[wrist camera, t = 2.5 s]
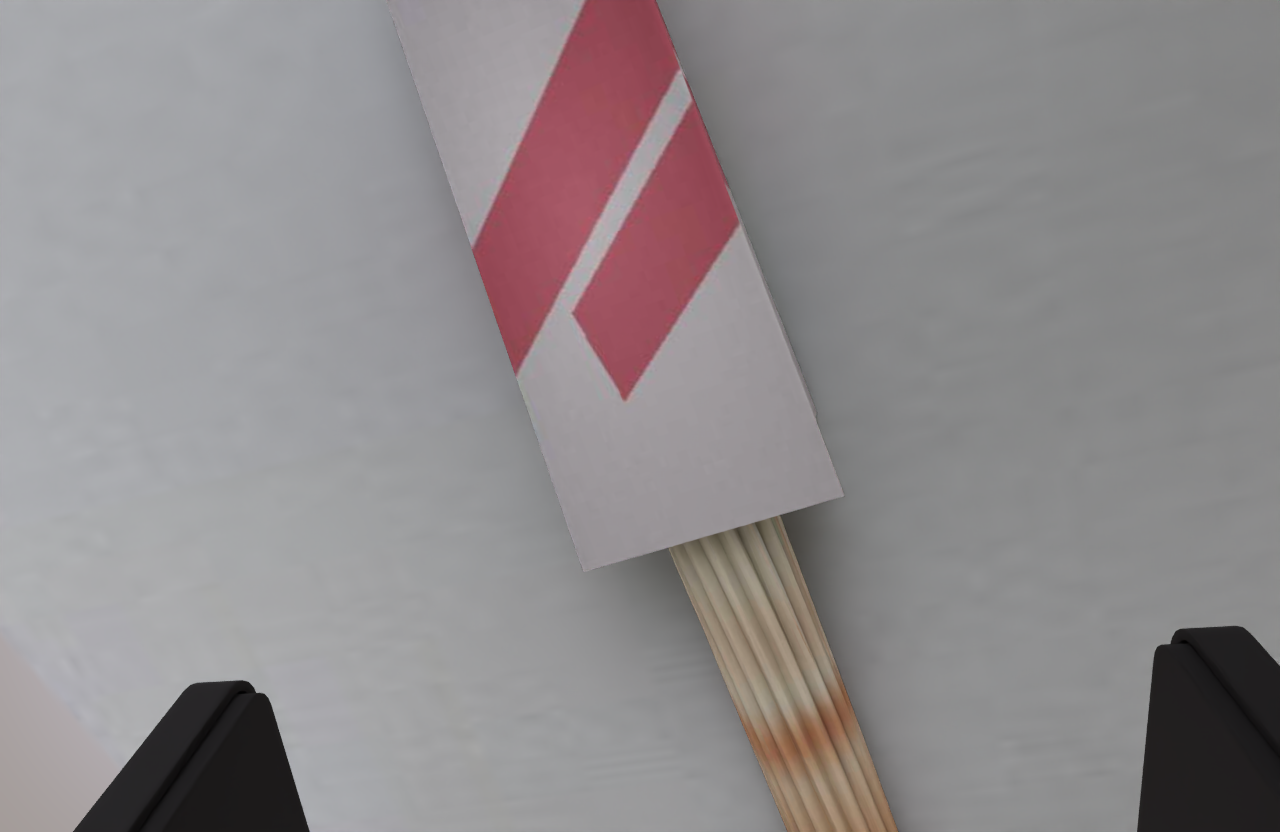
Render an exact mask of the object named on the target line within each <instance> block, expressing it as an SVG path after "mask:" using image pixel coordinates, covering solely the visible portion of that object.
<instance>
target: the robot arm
mask: <svg viewBox="0 0 1280 832" xmlns="http://www.w3.org/2000/svg"><path fill="white" fill-rule="evenodd" d="M73 832H309V828H308V825H307V822H306V818H305V815H304V812H303V808H302V805H301V802H300V799H299V795H298V792H297V789H296V785H295V782H294V779H293V775H292V772H291V769H290V765H289V762H288V759H287V755H286V752H285V749H284V746H283V742H282V739H281V736H280V732H279V729H278V726H277V722H276V719H275V716H274V712H273V709H272V706H271V703H270V701H269V698H268V697H267V696H266V695H265V694H263V693H256V691H255V689H254V687H253V686H252V685H251V684H250V683H249V682H247V681H243V680H240V681H222V682H203V683H195V684H192V685H190V686H189V687H188V688H187V689H186V690H185V691H184V692H183V693H182V694H181V695H180V697H179V698H178V699H177V700H176V702H175V703H174V704H173V706H172V707H171V708H170V709H169V711H168V712H167V713H166V714H165V716H164V717H163V718H162V719H161V721H160V722H159V723H158V725H157V726H156V727H155V728H154V730H153V731H152V732H151V733H150V735H149V736H148V737H147V738H146V740H145V741H144V742H143V744H142V745H141V746H140V747H139V749H138V750H137V751H136V752H135V754H134V755H133V756H132V757H131V759H130V760H129V761H128V763H127V764H126V765H125V766H124V768H123V769H122V770H121V771H120V773H119V774H118V775H117V776H116V778H115V779H114V781H113V782H112V783H111V784H110V785H109V787H108V788H107V789H106V791H105V792H104V793H103V794H102V796H101V797H100V798H99V799H98V801H97V802H96V803H95V804H94V806H93V807H92V808H91V810H90V811H89V812H88V813H87V815H86V816H85V817H84V818H83V820H82V821H81V822H80V824H79V825H78V826H77V827H76V828H75V830H74V831H73ZM1137 832H1280V666H1279V665H1278V664H1277V662H1276V661H1275V660H1274V659H1273V658H1272V657H1271V656H1270V655H1269V654H1268V652H1267V651H1266V650H1265V649H1264V648H1263V647H1262V646H1261V645H1260V643H1259V642H1258V641H1257V640H1256V639H1255V638H1254V637H1253V636H1252V635H1251V633H1249V632H1248V631H1247V630H1246V629H1245V628H1243V627H1239V626H1225V627H1206V628H1188V629H1179V630H1178V631H1176V632H1175V633H1174V635H1173V637H1172V640H1171V644H1166V645H1160V646H1158V647H1157V649H1156V651H1155V655H1154V661H1153V671H1152V682H1151V692H1150V703H1149V713H1148V724H1147V734H1146V745H1145V755H1144V766H1143V776H1142V786H1141V797H1140V807H1139V818H1138V828H1137Z"/></svg>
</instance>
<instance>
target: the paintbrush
mask: <svg viewBox="0 0 1280 832" xmlns="http://www.w3.org/2000/svg"><path fill="white" fill-rule="evenodd" d="M386 2H387V4H388V7H389V10H390V13H391V16H392V19H393V22H394V25H395V28H396V31H397V33H398V36H399V39H400V42H401V45H402V48H403V51H404V54H405V57H406V60H407V62H408V65H409V68H410V71H411V74H412V77H413V80H414V83H415V86H416V89H417V91H418V94H419V97H420V100H421V103H422V106H423V109H424V112H425V115H426V118H427V120H428V123H429V126H430V129H431V132H432V135H433V138H434V141H435V144H436V147H437V149H438V152H439V155H440V158H441V161H442V164H443V167H444V170H445V173H446V176H447V178H448V181H449V184H450V187H451V190H452V193H453V196H454V199H455V202H456V205H457V207H458V210H459V213H460V216H461V219H462V222H463V225H464V228H465V231H466V234H467V236H468V239H469V242H470V245H471V248H472V251H473V254H474V257H475V260H476V263H477V266H478V268H479V271H480V274H481V277H482V280H483V283H484V286H485V289H486V292H487V295H488V297H489V300H490V303H491V306H492V309H493V312H494V315H495V318H496V321H497V324H498V326H499V329H500V332H501V335H502V338H503V341H504V344H505V347H506V350H507V353H508V355H509V358H510V361H511V364H512V367H513V370H514V373H515V376H516V379H517V382H518V384H519V387H520V390H521V393H522V396H523V399H524V402H525V405H526V408H527V411H528V413H529V416H530V419H531V422H532V425H533V428H534V431H535V434H536V437H537V440H538V442H539V445H540V448H541V451H542V454H543V457H544V460H545V463H546V466H547V469H548V471H549V474H550V477H551V480H552V483H553V486H554V489H555V492H556V495H557V498H558V500H559V503H560V506H561V509H562V512H563V515H564V518H565V521H566V524H567V527H568V529H569V532H570V535H571V538H572V541H573V544H574V547H575V550H576V553H577V556H578V558H579V561H580V564H581V567H582V570H583V572H586V571H590V570H593V569H597V568H600V567H603V566H607V565H610V564H614V563H617V562H621V561H624V560H627V559H631V558H634V557H638V556H641V555H645V554H648V553H652V552H655V551H658V550H662V549H665V548H668V549H669V551H670V554H671V556H672V559H673V561H674V563H675V566H676V568H677V571H678V573H679V575H680V577H681V580H682V582H683V584H684V586H685V589H686V591H687V593H688V596H689V598H690V600H691V602H692V605H693V607H694V609H695V612H696V614H697V616H698V618H699V621H700V623H701V625H702V627H703V630H704V632H705V635H706V637H707V640H708V642H709V644H710V647H711V649H712V652H713V654H714V657H715V659H716V662H717V664H718V667H719V669H720V671H721V674H722V676H723V679H724V681H725V683H726V686H727V688H728V691H729V693H730V695H731V698H732V700H733V703H734V705H735V707H736V710H737V712H738V714H739V717H740V719H741V722H742V724H743V726H744V729H745V731H746V734H747V736H748V738H749V741H750V743H751V745H752V748H753V750H754V753H755V755H756V757H757V760H758V762H759V765H760V767H761V769H762V772H763V774H764V776H765V779H766V781H767V784H768V786H769V788H770V791H771V793H772V795H773V798H774V800H775V803H776V805H777V807H778V810H779V812H780V815H781V817H782V819H783V822H784V824H785V826H786V829H787V831H788V832H898V830H897V827H896V824H895V822H894V819H893V816H892V813H891V811H890V808H889V805H888V803H887V800H886V797H885V794H884V792H883V789H882V786H881V783H880V781H879V778H878V775H877V773H876V770H875V767H874V764H873V762H872V759H871V756H870V754H869V751H868V748H867V745H866V743H865V740H864V737H863V735H862V732H861V729H860V727H859V724H858V721H857V719H856V716H855V713H854V711H853V708H852V705H851V703H850V700H849V697H848V695H847V692H846V689H845V687H844V684H843V681H842V679H841V676H840V673H839V671H838V668H837V666H836V663H835V660H834V658H833V655H832V652H831V650H830V647H829V644H828V642H827V639H826V636H825V634H824V631H823V628H822V626H821V623H820V620H819V618H818V615H817V612H816V610H815V607H814V604H813V602H812V599H811V596H810V594H809V591H808V588H807V586H806V583H805V580H804V578H803V575H802V572H801V570H800V567H799V564H798V562H797V559H796V556H795V554H794V551H793V549H792V546H791V543H790V541H789V538H788V536H787V533H786V530H785V527H784V525H783V522H782V519H781V516H780V515H782V514H785V513H789V512H792V511H796V510H799V509H802V508H806V507H809V506H813V505H816V504H820V503H823V502H827V501H830V500H833V499H837V498H840V497H844V496H845V495H844V492H843V489H842V487H841V484H840V482H839V479H838V476H837V474H836V471H835V469H834V466H833V463H832V461H831V458H830V456H829V453H828V451H827V448H826V445H825V443H824V440H823V438H822V435H821V432H820V430H819V427H818V425H817V422H816V416H817V411H816V408H815V405H814V403H813V400H812V398H811V395H810V393H809V390H808V388H807V385H806V382H805V380H804V377H803V375H802V372H801V370H800V367H799V365H798V362H797V359H796V357H795V354H794V352H793V349H792V347H791V344H790V342H789V339H788V336H787V334H786V331H785V329H784V326H783V324H782V321H781V319H780V316H779V313H778V311H777V308H776V306H775V303H774V301H773V298H772V296H771V293H770V291H769V288H768V285H767V283H766V280H765V278H764V275H763V273H762V270H761V268H760V265H759V262H758V260H757V257H756V255H755V252H754V250H753V247H752V245H751V242H750V239H749V237H748V234H747V232H746V229H745V227H744V224H743V222H742V219H741V216H740V214H739V211H738V209H737V206H736V204H735V201H734V199H733V196H732V193H731V191H730V188H729V186H728V183H727V181H726V178H725V176H724V173H723V170H722V168H721V165H720V163H719V160H718V158H717V155H716V153H715V150H714V148H713V145H712V142H711V140H710V137H709V135H708V132H707V130H706V127H705V125H704V122H703V119H702V117H701V114H700V112H699V109H698V107H697V104H696V102H695V99H694V96H693V94H692V91H691V89H690V86H689V84H688V81H687V79H686V76H685V73H684V71H683V68H682V66H681V63H680V61H679V58H678V56H677V53H676V50H675V48H674V45H673V43H672V40H671V38H670V35H669V33H668V30H667V27H666V25H665V22H664V20H663V17H662V15H661V12H660V10H659V7H658V5H657V2H656V0H386Z"/></svg>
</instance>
